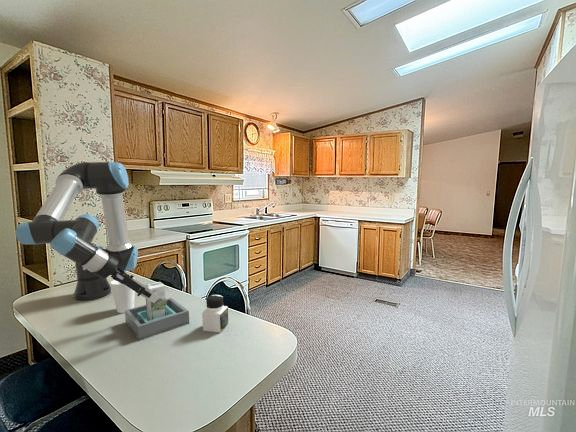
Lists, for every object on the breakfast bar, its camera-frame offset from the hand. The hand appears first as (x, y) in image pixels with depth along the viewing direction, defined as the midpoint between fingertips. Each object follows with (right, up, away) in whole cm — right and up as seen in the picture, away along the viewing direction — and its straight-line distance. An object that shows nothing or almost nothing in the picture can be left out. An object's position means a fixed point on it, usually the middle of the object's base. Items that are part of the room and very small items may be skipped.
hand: (150, 294), depth 113 cm
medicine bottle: (+25, -12, -1) cm, 28 cm away
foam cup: (-18, -11, +15) cm, 26 cm away
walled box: (+1, -12, +3) cm, 12 cm away
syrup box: (+1, -11, +3) cm, 11 cm away
